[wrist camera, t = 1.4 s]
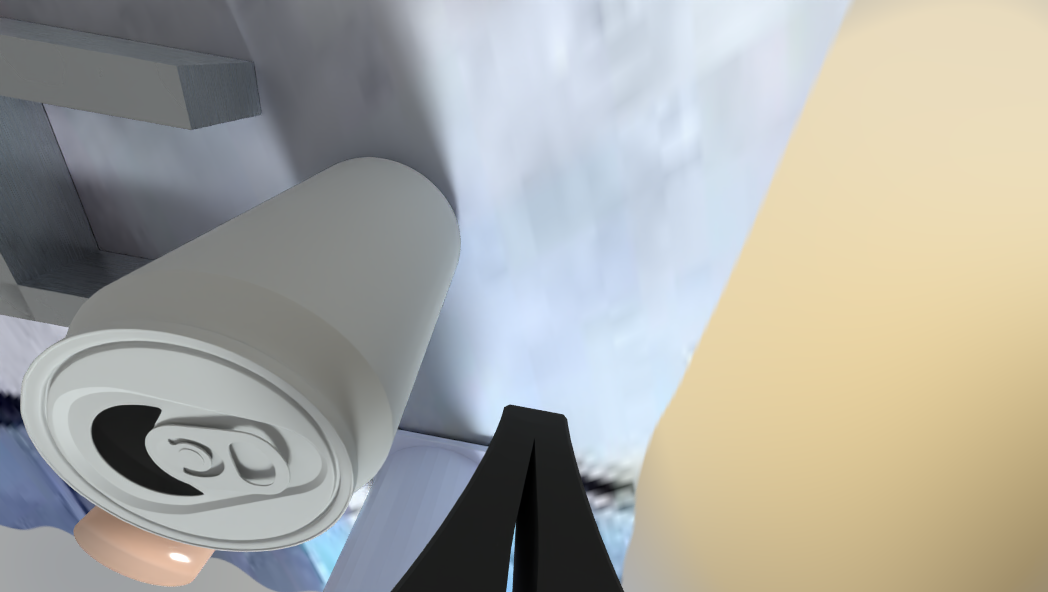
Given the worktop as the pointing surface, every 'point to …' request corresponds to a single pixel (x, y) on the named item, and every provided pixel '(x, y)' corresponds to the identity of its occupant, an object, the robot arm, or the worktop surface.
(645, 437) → the worktop surface
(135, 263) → the grey piece
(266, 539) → the beverage can
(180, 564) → the peach cylinder plug
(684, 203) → the worktop surface
